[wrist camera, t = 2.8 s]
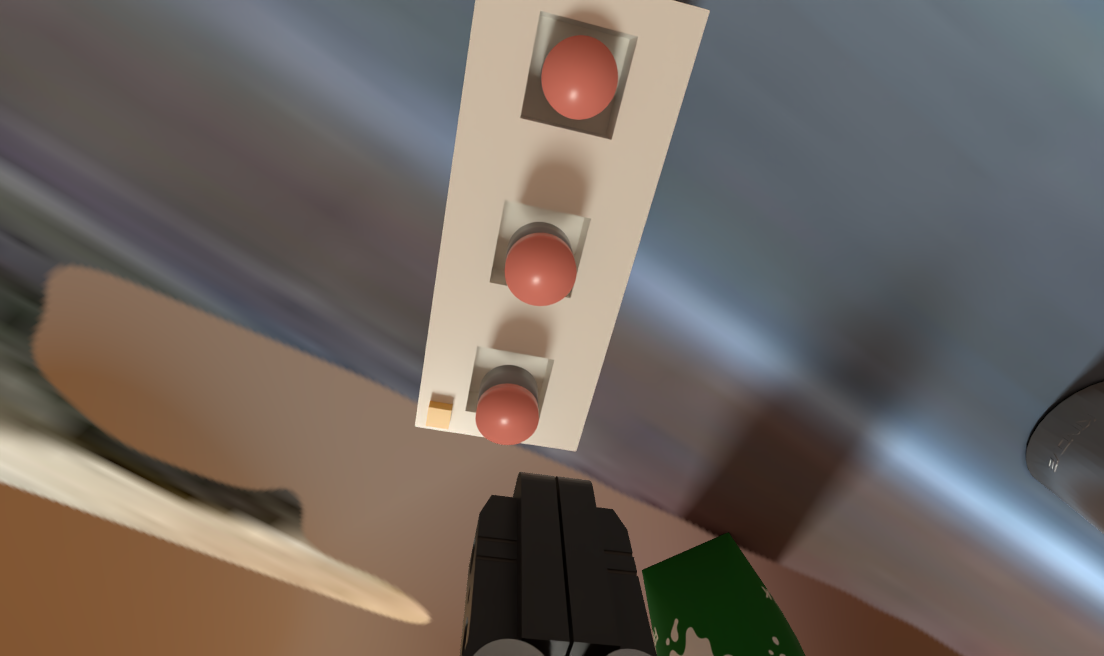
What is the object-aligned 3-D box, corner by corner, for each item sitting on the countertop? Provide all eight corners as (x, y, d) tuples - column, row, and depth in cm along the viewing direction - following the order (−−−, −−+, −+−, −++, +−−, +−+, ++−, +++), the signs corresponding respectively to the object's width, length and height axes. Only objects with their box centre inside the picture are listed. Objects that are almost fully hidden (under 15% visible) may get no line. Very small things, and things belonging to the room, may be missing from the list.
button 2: (578, 229, 24) (584, 246, 22) (563, 289, 25) (567, 312, 23) (513, 215, 24) (512, 231, 21) (501, 277, 25) (498, 299, 23)
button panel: (712, -86, 23) (754, -120, 19) (570, 410, 34) (577, 458, 30) (506, -148, 22) (501, -200, 18) (427, 387, 32) (412, 433, 28)
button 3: (543, 370, 27) (544, 398, 25) (531, 418, 29) (531, 449, 26) (485, 360, 27) (480, 387, 25) (475, 409, 28) (470, 439, 26)
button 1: (616, 49, 23) (627, 46, 21) (598, 121, 24) (606, 127, 22) (548, 31, 22) (551, 26, 20) (533, 106, 24) (534, 110, 21)
